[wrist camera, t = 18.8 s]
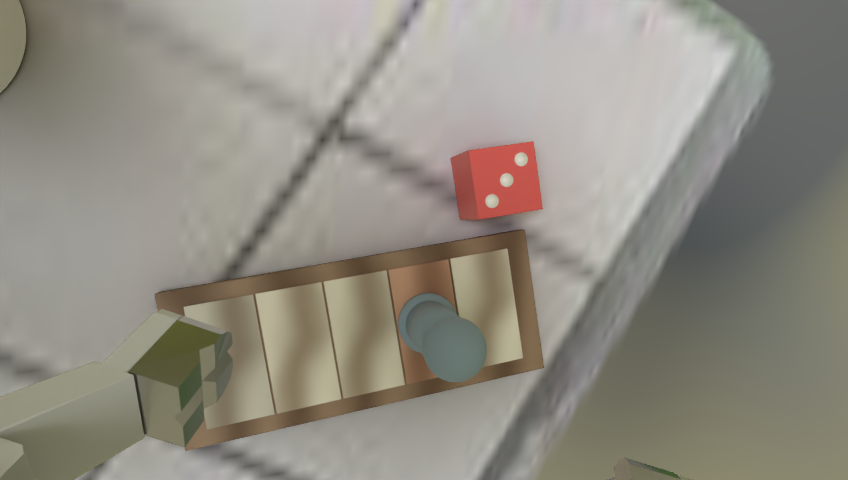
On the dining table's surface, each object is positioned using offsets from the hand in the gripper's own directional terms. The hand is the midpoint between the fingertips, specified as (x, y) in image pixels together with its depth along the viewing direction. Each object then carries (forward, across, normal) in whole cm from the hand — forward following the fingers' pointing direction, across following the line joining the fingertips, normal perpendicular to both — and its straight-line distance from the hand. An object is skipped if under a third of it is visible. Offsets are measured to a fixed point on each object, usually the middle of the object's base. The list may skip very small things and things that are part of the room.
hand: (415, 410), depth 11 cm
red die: (+40, 0, -14) cm, 42 cm away
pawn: (+30, -1, -25) cm, 39 cm away
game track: (+28, -7, -27) cm, 40 cm away
